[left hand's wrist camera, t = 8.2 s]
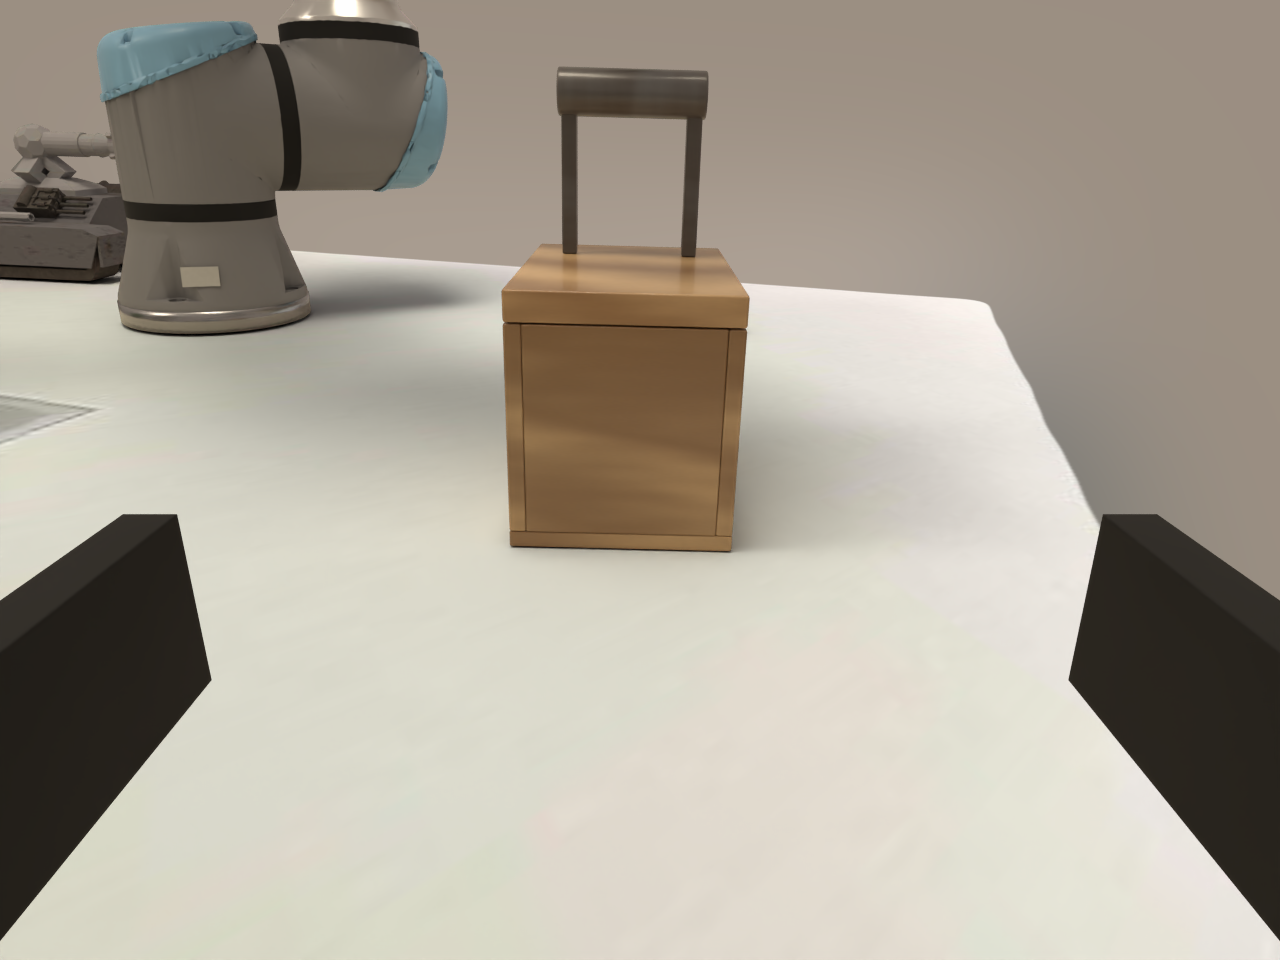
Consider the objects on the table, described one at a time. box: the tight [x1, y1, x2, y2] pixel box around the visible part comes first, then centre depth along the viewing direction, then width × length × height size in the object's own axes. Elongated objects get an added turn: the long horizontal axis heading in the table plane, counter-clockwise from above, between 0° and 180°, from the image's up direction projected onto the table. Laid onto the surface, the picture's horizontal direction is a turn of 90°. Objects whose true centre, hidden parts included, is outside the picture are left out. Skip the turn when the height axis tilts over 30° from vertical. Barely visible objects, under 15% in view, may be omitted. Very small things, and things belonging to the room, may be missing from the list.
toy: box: [0, 124, 128, 281], centre depth 97 cm, size 25×20×15 cm
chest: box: [503, 322, 747, 551], centre depth 41 cm, size 13×9×10 cm
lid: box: [502, 67, 750, 328], centre depth 38 cm, size 14×9×10 cm
